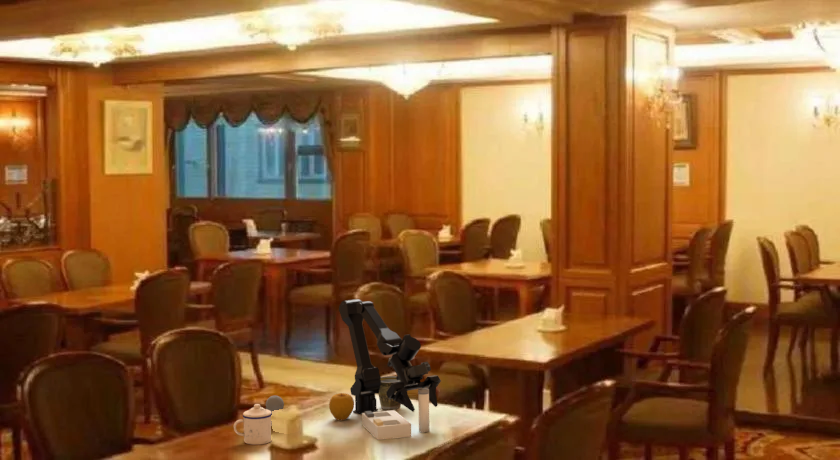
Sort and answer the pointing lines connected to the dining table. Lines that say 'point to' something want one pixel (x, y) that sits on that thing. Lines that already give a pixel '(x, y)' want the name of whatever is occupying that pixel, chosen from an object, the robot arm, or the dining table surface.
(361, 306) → the robot arm
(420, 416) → the plug
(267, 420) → the teacup with lid
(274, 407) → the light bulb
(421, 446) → the dining table surface
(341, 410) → the apple
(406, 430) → the socket board
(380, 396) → the ceramic cup
